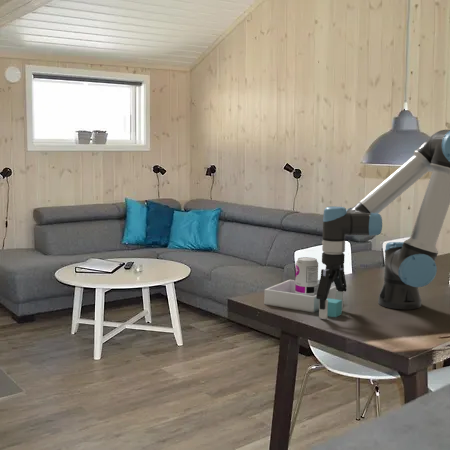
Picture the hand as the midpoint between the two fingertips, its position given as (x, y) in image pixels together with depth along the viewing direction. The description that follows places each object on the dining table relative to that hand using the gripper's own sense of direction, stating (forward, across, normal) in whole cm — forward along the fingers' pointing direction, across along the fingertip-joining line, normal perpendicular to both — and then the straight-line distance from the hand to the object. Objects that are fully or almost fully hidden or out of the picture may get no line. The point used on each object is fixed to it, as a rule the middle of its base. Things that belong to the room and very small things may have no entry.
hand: (331, 313), depth 217 cm
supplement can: (0, -13, -16) cm, 20 cm away
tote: (0, -9, -16) cm, 18 cm away
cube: (0, 0, 0) cm, 0 cm away
